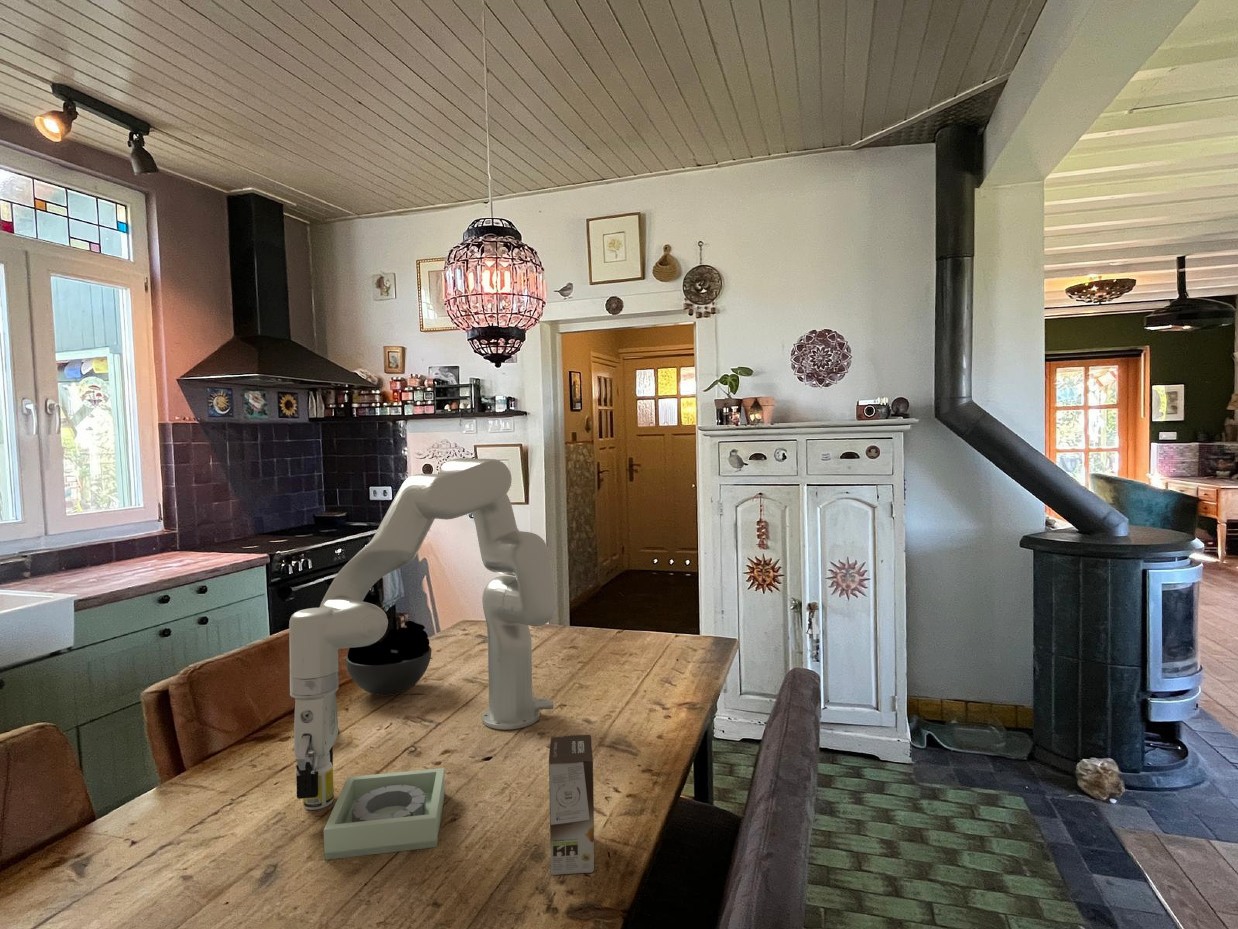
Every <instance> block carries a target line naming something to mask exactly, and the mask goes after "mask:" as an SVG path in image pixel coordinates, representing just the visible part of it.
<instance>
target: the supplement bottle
mask: <svg viewBox="0 0 1238 929" xmlns="http://www.w3.org/2000/svg"><path fill="white" fill-rule="evenodd" d="M309 753H315V751H309ZM312 760H313V759H308V760H307V762H310V764H311V766H312ZM317 771H318V796H317V797H313V798H302V800H303V802H302V803H303V808H305V809H306V810H310V811H312V810H313V811H317V810H321V809H324V808H327V807H328V806H329V805H331V804H332V803H333V802H334V798H335V796H334V795H335V792H334V790H335V789H334V764H333V765H332V763H331V762H330V752H328V754H327V755H326V756H324V757H322V756H318V761H317V767H316V772H317Z"/></svg>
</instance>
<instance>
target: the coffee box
mask: <svg viewBox="0 0 1238 929" xmlns="http://www.w3.org/2000/svg"><path fill="white" fill-rule="evenodd" d="M592 744H593V743H592V736H591V734H573V735H571V734H570V735H563V736H551V737H550V742H549V754H548V776H549V777H548V779H549V781H548V783H549V787H548V788H549V790H548V792H549V836H550V837H549V839H550V842H549V843H550V847H549V848H550V875H552V876H556V875H557V876H559V875H571V874H572V875H573V874H574V875H575V874H585V873H586V874H587V873H589V874H590V873H593V872H594V870H595V813H594V811H595V808H594V807H595V806H594V805H595V804H594V803H595V799H594V795H595V794H594V758H593V757H594V756H593V747H592Z"/></svg>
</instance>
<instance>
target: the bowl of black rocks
mask: <svg viewBox="0 0 1238 929" xmlns="http://www.w3.org/2000/svg"><path fill="white" fill-rule="evenodd" d="M391 618H392V617H391V616H387V619H388V620H389V619H391ZM404 626H405V627H399V628H398V629H397V628H395V627H392V628H391V629H390V630H389V632H388V633H387V635H386V636H385V637H384V638H383V639H381V640H382V641H380V639H379V640H378V641H377V642H375V643H373V644H371V645H368V646H363V647H352V648H348V651H347V655H346V656H345V666H346V670H347V671H348V674H349V676H350V679H352V682H354V683H355V685H356V686H358V687H359V688H361V690H363V691H365V692H368V693H369V694H372V695H375V696H376V695H377V696H384V697H385V696H395V695H397V694H401V693H403V692H405V691H408V690H409V689H410V688H412V687H413V686H415V685H416V684H417V683H418V682H419V681H420V680H421V679H422V678H423V676H424V674H426V671H427V669H428V667H429V665H430V661H431V658H432V647H431V646H430V639H429V638H428V633H427V632H426V630H425V629H426V627H425V626H424V625H423V624H421V623H418V622H415V621H413V620H405V622H404Z"/></svg>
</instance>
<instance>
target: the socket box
mask: <svg viewBox="0 0 1238 929" xmlns="http://www.w3.org/2000/svg"><path fill="white" fill-rule="evenodd" d="M445 781H446V780H445V767H439V768H437V767H436V768H429V769H418V770H417V769H416V770H410V771H408V770H407V771H397V772H385V773H378V774H377V773H375V774H365V775H356V776H348V777H347V778H346V780H345V782H344V784H343V786H342V788H341V791H340V792H339V795H338V797H337V800H336V802H335V804H334V806H333V809H332V811H331V813H330V815H329V817H328V820H327V822H326V824H325V826H324V828H323V848H324V849H323V851H324V852H323V854H324V855H323V856H324V857H323V858H324V861H327V860H336V859H344V858H353V857H361V856H363V857H364V856H368V855H369V856H370V855H380V854H385V853H387V854H388V853H397V852H404V851H412V850H415V851H416V850H422V849H423V850H424V849H430V848H437V847H438V840H439V833H440V828H441V820H442V814H443V807H444V801H445V795H446V794H445V793H446V788H445V785H446V784H445Z"/></svg>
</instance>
